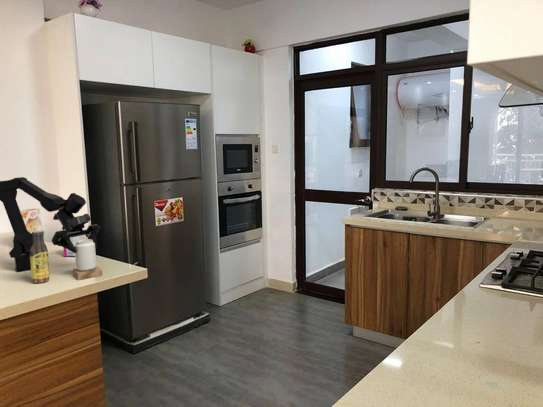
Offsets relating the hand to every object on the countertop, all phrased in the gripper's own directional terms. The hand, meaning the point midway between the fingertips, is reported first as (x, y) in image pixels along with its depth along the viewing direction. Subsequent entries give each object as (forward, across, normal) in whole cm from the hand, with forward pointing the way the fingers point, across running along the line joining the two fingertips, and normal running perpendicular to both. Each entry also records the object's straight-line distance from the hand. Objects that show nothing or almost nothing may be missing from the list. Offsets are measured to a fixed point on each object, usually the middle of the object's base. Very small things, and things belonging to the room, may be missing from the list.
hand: (86, 250), depth 169 cm
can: (+5, 0, +6) cm, 8 cm away
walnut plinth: (+7, 0, +8) cm, 11 cm away
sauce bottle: (+1, -14, +15) cm, 20 cm away
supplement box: (-19, +17, +35) cm, 43 cm away
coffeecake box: (-50, +19, +66) cm, 85 cm away
